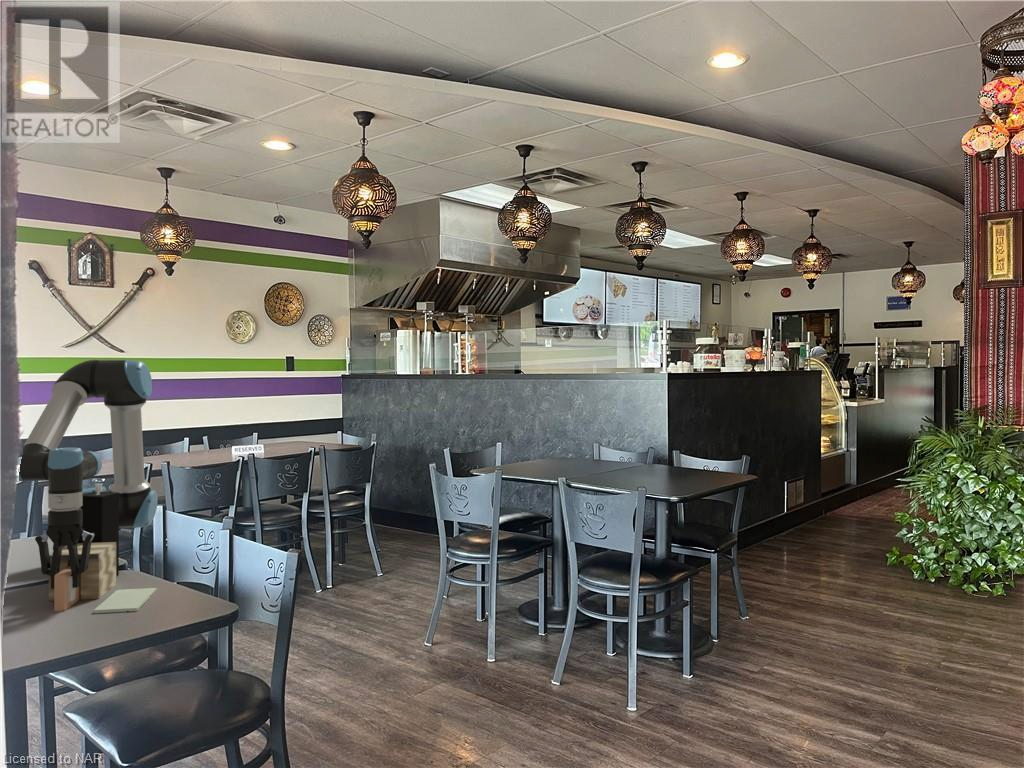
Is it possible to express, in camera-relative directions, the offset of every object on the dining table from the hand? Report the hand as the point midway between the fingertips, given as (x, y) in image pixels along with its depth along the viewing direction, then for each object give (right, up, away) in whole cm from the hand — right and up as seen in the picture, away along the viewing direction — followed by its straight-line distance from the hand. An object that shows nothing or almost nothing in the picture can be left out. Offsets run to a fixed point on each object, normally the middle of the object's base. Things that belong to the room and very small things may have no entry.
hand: (65, 600), depth 186 cm
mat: (+13, -2, +5) cm, 14 cm away
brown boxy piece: (-3, -2, +13) cm, 13 cm away
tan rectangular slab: (-1, -2, +4) cm, 5 cm away
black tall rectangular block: (-6, -2, +26) cm, 27 cm away
